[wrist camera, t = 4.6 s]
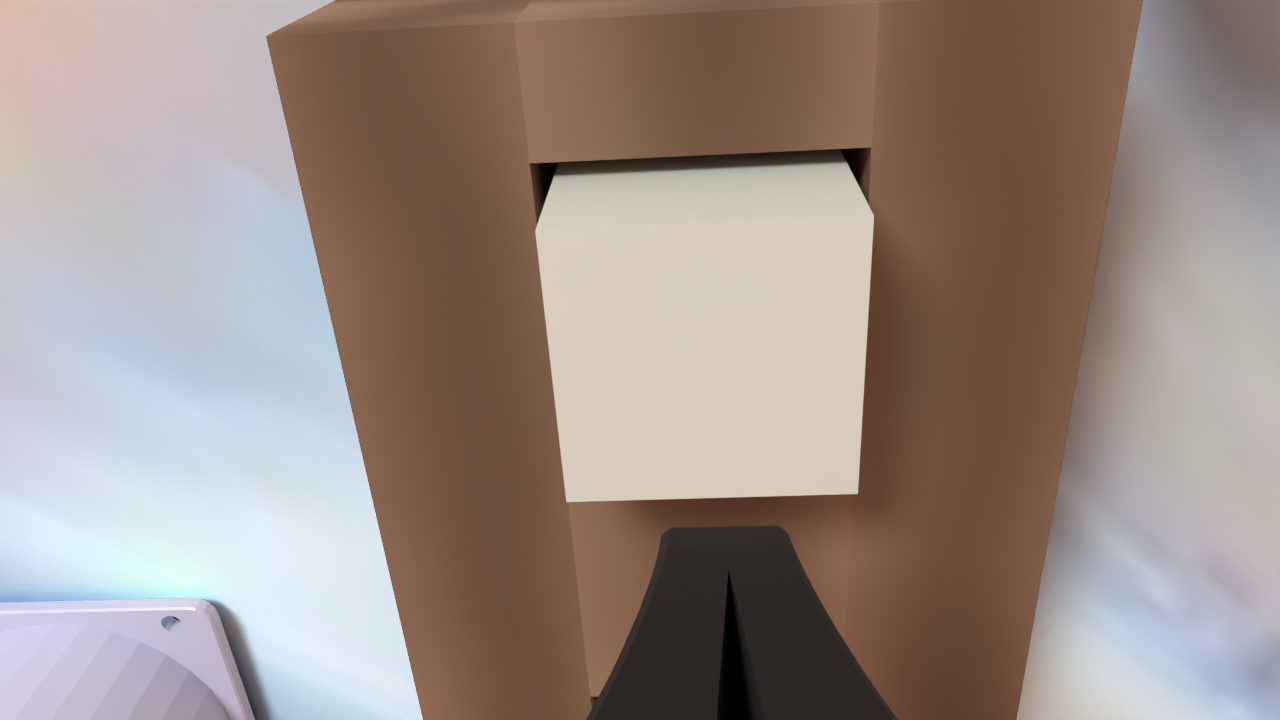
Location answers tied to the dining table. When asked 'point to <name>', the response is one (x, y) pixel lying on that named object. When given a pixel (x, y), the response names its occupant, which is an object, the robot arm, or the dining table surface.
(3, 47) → the dining table surface
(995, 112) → the panel
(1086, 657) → the dining table surface
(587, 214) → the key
